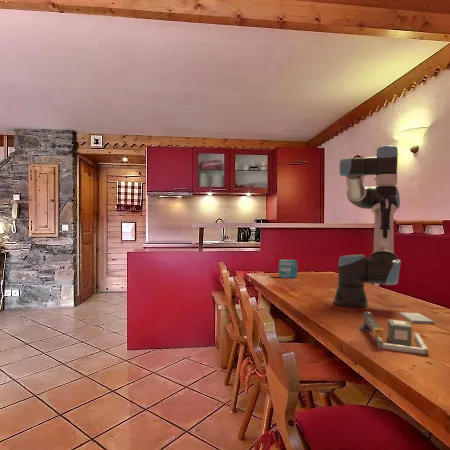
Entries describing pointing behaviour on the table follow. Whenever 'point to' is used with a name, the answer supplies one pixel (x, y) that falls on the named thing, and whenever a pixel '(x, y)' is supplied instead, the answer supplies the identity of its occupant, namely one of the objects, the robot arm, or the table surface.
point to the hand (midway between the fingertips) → (384, 246)
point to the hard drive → (416, 318)
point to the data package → (288, 268)
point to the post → (365, 326)
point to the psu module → (399, 332)
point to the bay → (403, 348)
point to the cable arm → (375, 327)
